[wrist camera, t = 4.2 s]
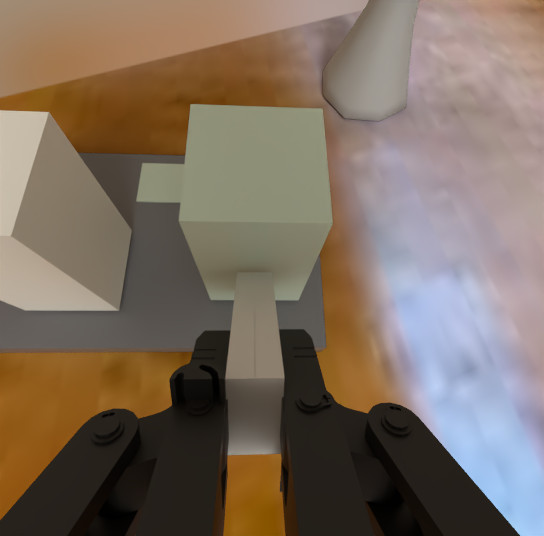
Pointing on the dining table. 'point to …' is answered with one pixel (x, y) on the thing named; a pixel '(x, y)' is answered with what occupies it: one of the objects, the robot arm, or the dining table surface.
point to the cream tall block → (55, 223)
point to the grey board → (149, 277)
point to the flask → (373, 62)
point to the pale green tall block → (255, 195)
